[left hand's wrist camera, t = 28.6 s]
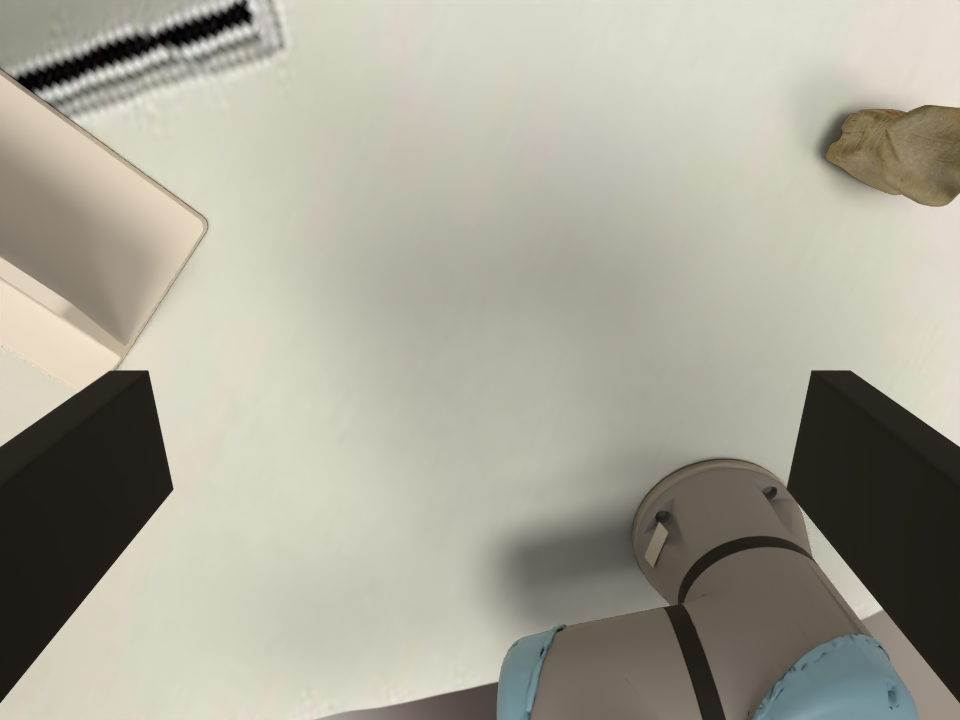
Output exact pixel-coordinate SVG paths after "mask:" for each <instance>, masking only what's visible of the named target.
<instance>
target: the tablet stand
mask: <svg viewBox="0 0 960 720" xmlns="http://www.w3.org/2000/svg"><path fill="white" fill-rule="evenodd" d="M207 228H208V225H207V222H206V220H205V219H204V217H202V216H201V215H200V214H198V213H197V212H196V211H194V210H193V209H191V208H190V207H189V206H187V205H186V204H185V203H183V202H182V201H180V200H179V199H178V198H176V197H175V196H174V195H172V194H171V193H169V192H168V191H167V190H165V189H164V188H163V187H161V186H160V185H158V184H157V183H156V182H154V181H153V180H152V179H150V178H149V177H147V176H146V175H145V174H143V173H142V172H141V171H139V170H138V169H136V168H135V167H134V166H132V165H131V164H130V163H128V162H127V161H125V160H124V159H123V158H121V157H120V156H119V155H117V154H116V153H114V152H113V151H112V150H110V149H109V148H108V147H106V146H105V145H103V144H102V143H101V142H99V141H98V140H97V139H95V138H94V137H92V136H91V135H90V134H88V133H87V132H86V131H84V130H83V129H81V128H80V127H79V126H77V125H76V124H75V123H73V122H72V121H70V120H69V119H68V118H66V117H65V116H64V115H62V114H61V113H59V112H58V111H57V110H55V109H54V108H53V107H51V106H50V105H48V104H47V103H46V102H44V101H43V100H42V99H40V98H39V97H38V96H36V95H35V94H33V93H32V92H31V91H29V90H28V89H27V88H25V87H24V86H22V85H21V84H20V83H18V82H17V81H16V80H14V79H13V78H11V77H10V76H9V75H7V74H6V73H5V72H3V71H2V70H0V346H2V347H4V348H5V349H7V350H8V351H10V352H12V353H13V354H15V355H16V356H18V357H20V358H21V359H23V360H24V361H26V362H28V363H29V364H31V365H33V366H34V367H36V368H37V369H39V370H41V371H42V372H44V373H45V374H47V375H49V376H50V377H52V378H53V379H55V380H57V381H58V382H60V383H62V384H63V385H65V386H66V387H68V388H70V389H71V390H73V391H74V392H76V393H78V392H80V391H81V390H83V389H84V388H85V387H87V386H88V385H90V384H91V383H93V382H94V381H95V380H97V379H98V378H100V377H101V376H103V375H104V374H105V373H107V372H108V371H114V370H115V368H116V367H117V366H118V365H119V364H120V362H121V361H122V360H123V359H124V357H125V356H126V354H127V353H128V351H129V350H130V348H131V347H132V345H133V344H134V342H135V340H136V339H137V337H138V336H139V334H140V333H141V331H142V330H143V328H144V327H145V325H146V323H147V322H148V320H149V319H150V317H151V316H152V314H153V313H154V311H155V310H156V308H157V307H158V305H159V303H160V302H161V300H162V299H163V297H164V296H165V294H166V293H167V291H168V290H169V288H170V286H171V285H172V283H173V282H174V280H175V279H176V277H177V276H178V274H179V273H180V271H181V270H182V268H183V266H184V265H185V263H186V262H187V260H188V259H189V257H190V256H191V254H192V253H193V251H194V250H195V248H196V246H197V245H198V243H199V242H200V240H201V239H202V237H203V236H204V234H205V233H206V231H207Z"/></svg>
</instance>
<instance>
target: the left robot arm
mask: <svg viewBox="0 0 960 720" xmlns="http://www.w3.org/2000/svg"><path fill="white" fill-rule="evenodd" d="M172 491H173V485H172V480H171V475H170V471H169V466H168V461H167V456H166V452H165V447H164V442H163V437H162V433H161V428H160V423H159V419H158V414H157V409H156V404H155V400H154V395H153V390H152V385H151V381H150V376H149V371H108V372H107V373H105V374H104V375H103V376H101V377H100V378H98V379H97V380H95V381H94V382H93V383H91V384H90V385H88V386H87V387H85V388H84V389H83V390H81V391H80V392H78V393H77V394H75V395H74V396H73V397H71V398H70V399H68V400H67V401H65V402H64V403H63V404H61V405H60V406H58V407H57V408H55V409H54V410H53V411H51V412H50V413H48V414H47V415H45V416H44V417H43V418H41V419H40V420H38V421H37V422H35V423H34V424H33V425H31V426H30V427H28V428H27V429H25V430H24V431H23V432H21V433H20V434H18V435H17V436H15V437H14V438H13V439H11V440H10V441H8V442H7V443H5V444H4V445H3V446H1V447H0V703H1V702H2V700H3V699H4V698H5V697H6V695H7V694H8V693H9V692H10V690H11V689H12V688H13V687H14V686H15V684H16V683H17V682H18V681H19V679H20V678H21V677H22V676H23V674H24V673H25V672H26V671H27V670H28V668H29V667H30V666H31V665H32V663H33V662H34V661H35V660H36V658H37V657H38V656H39V655H40V653H41V652H42V651H43V650H44V649H45V647H46V646H47V645H48V644H49V642H50V641H51V640H52V639H53V637H54V636H55V635H56V634H57V632H58V631H59V630H60V629H61V628H62V626H63V625H64V624H65V623H66V621H67V620H68V619H69V618H70V616H71V615H72V614H73V613H74V612H75V610H76V609H77V608H78V607H79V605H80V604H81V603H82V602H83V600H84V599H85V598H86V597H87V595H88V594H89V593H90V592H91V591H92V589H93V588H94V587H95V586H96V584H97V583H98V582H99V581H100V579H101V578H102V577H103V576H104V575H105V573H106V572H107V571H108V570H109V568H110V567H111V566H112V565H113V563H114V562H115V561H116V560H117V558H118V557H119V556H120V555H121V554H122V552H123V551H124V550H125V549H126V547H127V546H128V545H129V544H130V542H131V541H132V540H133V539H134V537H135V536H136V535H137V534H138V533H139V531H140V530H141V529H142V528H143V526H144V525H145V524H146V523H147V521H148V520H149V519H150V518H151V517H152V515H153V514H154V513H155V512H156V510H157V509H158V508H159V507H160V505H161V504H162V503H163V502H164V500H165V499H166V498H167V497H168V496H169V494H170V493H171V492H172ZM797 503H798V504H799V505H800V507H801V508H802V509H803V510H804V512H805V513H806V514H807V515H808V517H809V518H810V519H811V520H812V521H813V523H814V524H815V525H816V526H817V528H818V529H819V530H820V531H821V533H822V534H823V535H824V536H825V537H826V539H827V540H828V541H829V542H830V544H831V545H832V546H833V547H834V549H835V550H836V551H837V552H838V554H839V555H840V556H841V557H842V558H843V560H844V561H845V562H846V563H847V565H848V566H849V567H850V568H851V570H852V571H853V572H854V573H855V575H856V576H857V577H858V578H859V579H860V581H861V582H862V583H863V584H864V586H865V587H866V588H867V589H868V591H869V592H870V593H871V594H872V595H873V597H874V598H875V599H876V600H877V602H878V603H879V604H880V605H881V607H882V608H883V609H884V610H885V612H886V613H887V614H888V615H889V616H890V618H891V619H892V620H893V621H894V623H895V624H896V625H897V626H898V628H899V629H900V630H901V631H902V632H903V634H904V635H905V636H906V637H907V639H908V640H909V641H910V642H911V643H912V645H913V646H914V647H915V648H916V650H917V651H918V652H919V653H920V655H921V656H922V657H923V658H924V660H925V661H926V662H927V663H928V665H929V666H930V667H931V668H932V670H933V671H934V672H935V673H936V674H937V676H938V677H939V678H940V679H941V681H942V682H943V683H944V684H945V686H946V687H947V688H948V689H949V690H950V692H951V693H952V694H953V695H954V697H955V698H956V699H957V700H958V702H959V703H960V447H959V446H957V445H956V444H955V443H953V442H952V441H950V440H949V439H947V438H946V437H945V436H943V435H942V434H940V433H939V432H937V431H936V430H935V429H933V428H932V427H930V426H929V425H927V424H926V423H925V422H923V421H922V420H920V419H919V418H917V417H916V416H915V415H913V414H912V413H910V412H909V411H907V410H906V409H905V408H903V407H902V406H900V405H899V404H897V403H896V402H895V401H893V400H892V399H890V398H889V397H887V396H886V395H885V394H883V393H882V392H880V391H879V390H877V389H876V388H875V387H873V386H872V385H870V384H869V383H867V382H866V381H865V380H863V379H862V378H860V377H859V376H857V375H856V374H855V373H853V372H852V371H811V376H810V381H809V385H808V390H807V395H806V400H805V404H804V409H803V414H802V419H801V423H800V428H799V433H798V437H797V442H796V447H795V452H794V456H793V461H792V466H791V471H790V475H789V480H788V485H787V488H786V487H785V486H784V484H783V483H782V482H781V481H780V480H779V479H778V478H777V477H776V476H774V475H773V474H772V473H770V472H769V471H767V470H765V469H763V468H761V467H759V466H757V465H754V464H751V463H747V462H743V461H737V460H713V461H706V462H701V463H698V464H694V465H691V466H688V467H686V468H684V469H681V470H679V471H677V472H675V473H674V474H672V475H670V476H669V477H667V478H666V479H664V480H663V481H662V482H660V483H659V484H658V485H657V486H656V487H655V488H654V489H653V490H652V491H651V492H650V493H649V494H648V495H647V497H646V498H645V499H644V501H643V502H642V504H641V506H640V507H639V509H638V512H637V514H636V516H635V520H634V523H633V528H632V543H633V549H634V552H635V555H636V558H637V561H638V564H639V566H640V568H641V570H642V572H643V574H644V575H645V577H646V578H647V580H648V581H649V583H650V584H651V585H652V586H653V588H654V589H655V590H656V591H657V592H658V593H659V594H660V595H661V596H662V597H663V598H664V599H665V600H666V601H667V602H668V603H669V604H670V605H671V606H668V607H661V608H656V609H651V610H646V611H641V612H636V613H631V614H626V615H621V616H616V617H611V618H606V619H601V620H596V621H591V622H586V623H581V624H576V625H571V626H566V625H565V624H564V625H558V626H556V627H555V628H553V629H552V630H550V631H547V632H543V633H539V634H535V635H531V636H527V637H523V638H521V639H519V640H517V641H516V642H515V643H514V644H513V645H512V646H511V647H510V649H509V650H508V652H507V654H506V656H505V658H504V660H503V663H502V667H501V672H500V677H499V685H498V697H497V720H919V717H918V712H917V708H916V705H915V702H914V699H913V697H912V695H911V693H910V691H909V690H908V688H907V687H906V685H905V684H904V682H903V681H902V679H901V678H900V676H899V675H898V673H897V672H896V670H895V669H894V667H893V666H892V663H891V661H890V659H889V656H888V654H887V652H886V650H885V649H884V648H883V646H882V645H881V644H880V643H879V642H878V641H877V640H875V639H874V638H873V636H872V635H871V634H870V633H869V631H868V630H867V629H866V627H865V626H864V625H863V623H862V622H861V621H860V619H859V618H858V617H857V615H856V614H855V613H854V612H853V610H852V609H851V608H850V606H849V605H848V604H847V602H846V601H845V600H844V598H843V597H842V596H841V595H840V593H839V592H838V591H837V589H836V588H835V587H834V585H833V584H832V583H831V581H830V580H829V579H828V578H827V576H826V575H825V574H824V572H823V571H822V570H821V568H820V567H819V566H818V564H817V563H816V562H815V560H814V559H813V557H812V553H811V549H810V544H809V540H808V536H807V531H806V527H805V523H804V519H803V516H802V513H801V510H800V508H799V506H798V504H797Z"/></svg>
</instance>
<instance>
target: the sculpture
mask: <svg viewBox="0 0 960 720" xmlns="http://www.w3.org/2000/svg"><path fill="white" fill-rule="evenodd" d="M841 130H842V131H843V133H842V136H841V138H840V139H839V140H838V141H836V142H834V143H832V144H831V145H830V147H829V149H828V151H827V154H826V157H825V158H826V159H827V160H828V161H830V162H831V163H833V164H836V165H838V166H839V167H841V168H842V169H844V170H845V171H846V172H848V173H849V174H850V175H851V176H853V177H855V178H856V179H858V180H860V181H862V182H864V183H866V184H868V185H869V186H872V187H874V188H876V189H878V190H881V191H883V192H886V193H888V194H891V195H901V194H902V195H904V196H906V197H908V198H910V199H911V200H913V201H915V202H917V203H919V204H922V205H927V206H934V207H940V206H945V205H947V204H949V203H950V202H951V201H952V200H953V199H954V198H955V197H956V196H957V195H958V194H959V193H960V108H954V107H943V106H934V105H924V106H921V107H919V108H916V109H913V110H911V111H909V112H903V111H899V110H892V109H868V110H861V111H859V112H857V113H853V114H850V115H849V116H848V117H847V119H846V120H845V122H844V123H843V125H842V127H841Z"/></svg>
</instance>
